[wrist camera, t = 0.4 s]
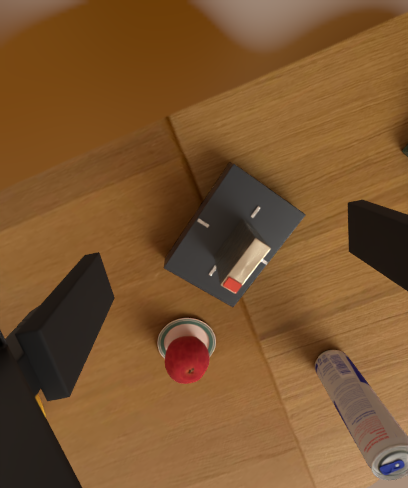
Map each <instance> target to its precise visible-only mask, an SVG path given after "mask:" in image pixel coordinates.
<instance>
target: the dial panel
mask: <svg viewBox="0 0 408 488" xmlns="http://www.w3.org/2000/svg"><path fill="white" fill-rule="evenodd" d="M304 216H305V214H304V213H303V212H301V211H300V210H298V209H297V208H296V207H294V206H293V205H291V204H290V203H289V202H287V201H286V200H284V199H283V198H282V197H280V196H279V195H277V194H276V193H274V192H273V191H272V190H270V189H269V188H267V187H266V186H265V185H263V184H262V183H260V182H259V181H258V180H256V179H255V178H253V177H252V176H251V175H249V174H248V173H246V172H245V171H243V170H242V169H241V168H239V167H238V166H236V165H235V164H233V163H231V162H229V164H228V165H227V167H226V168H225V170H224V171H223V173H222V174H221V176H220V177H219V179H218V180H217V182H216V183H215V185H214V186H213V188H212V189H211V191H210V192H209V194H208V195H207V197H206V198H205V200H204V201H203V203H202V204H201V206H200V207H199V209H198V210H197V212H196V213H195V215H194V216H193V218H192V219H191V221H190V222H189V224H188V225H187V227H186V228H185V230H184V231H183V233H182V234H181V235H180V237H179V238H178V240H177V241H176V243H175V244H174V246H173V247H172V249H171V250H170V252H169V253H168V255H167V256H166V258H165V263H164V268H165V269H166V270H168V271H170V272H172V273H173V274H175V275H177V276H179V277H181V278H182V279H184V280H186V281H188V282H189V283H191V284H193V285H195V286H196V287H198V288H200V289H202V290H203V291H205V292H207V293H209V294H210V295H212V296H214V297H216V298H217V299H219V300H221V301H223V302H224V303H226V304H228V305H230V306H232V307H234V306H235V304H236V303H237V302H238V301H239V299H240V298H241V297H242V296H243V294H244V293H245V292H246V290H247V289H248V288H249V287H250V285H251V284H252V283H253V282H254V280H255V279H256V278H257V276H258V275H259V274H260V273H261V271H262V270H263V269H264V267H265V266H266V265H267V264H268V262H269V261H270V260H271V259H272V257H273V256H274V255H275V253H276V252H277V251H278V250H279V248H280V247H281V246H282V245H283V243H284V242H285V241H286V239H287V238H288V237H289V236H290V234H291V233H292V232H293V230H294V229H295V228H296V227H297V225H298V224H299V223H300V222H301V220H302V219H303V218H304ZM241 219H243V220H245V221H246V222H248V223H249V224H251V225H252V226H254V227H255V228H256V230H257V231H258V232H259V234H260V235H261V236H262V237H263V239H264V240H265V241H266V242H267V244H268V245H269V246H270V248H271V249H270V250H269V252H268V253H267V254H266V256H265V257H264V258H263V259H262V261H261V262H260V263H259V265H258V266H257V267H256V268H255V270H254V271H253V272H252V274H251V275H250V276H249V277H248V279H247V280H246V281H245V283H244V284H243V285H242V287H241V288H240V289H239V290H238V292H237V293H236V294H234V293H233V292H231V291H229V290H228V289H226V288H224V287H222V286H221V285H220V281H219V277H218V273H217V269H216V264H215V260H214V256H215V255H216V253H217V252H218V250H219V249H220V248H221V246H222V245H223V244H224V242H225V241H226V239H227V238H228V237H229V235H230V234H231V232H232V231H233V230H234V228H235V227H236V225H237V224H238V223H239V221H240V220H241Z"/></svg>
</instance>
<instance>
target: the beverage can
mask: <svg viewBox="0 0 408 488" xmlns="http://www.w3.org/2000/svg"><path fill="white" fill-rule="evenodd" d="M315 370H316V373H317V375H318V377H319V378H320V380H321V382H322V384H323V385H324V387H325V389H326V391H327V393H328V394H329V396H330V398H331V400H332V402H333V403H334V405H335V407H336V409H337V411H338V412H339V414H340V416H341V418H342V419H343V421H344V423H345V425H346V427H347V428H348V430H349V432H350V434H351V436H352V437H353V439H354V441H355V443H356V444H357V446H358V448H359V450H360V452H361V453H362V455H363V457H364V459H365V461H366V462H367V464H368V466H369V467H370V468H371V470H372V472H373V474H374V475H375V476H376V477H378V478H380V479H383V480H395V479H399V478H402V477H404V476H407V475H408V436H407V435H406V434H405V432H404V431H403V429H402V428H401V427H400V425H399V424H398V423H397V421H396V420H395V419H394V417H393V416H392V415H391V413H390V412H389V411H388V409H387V408H386V407H385V405H384V404H383V403H382V401H381V400H380V399H379V397H378V396H377V395H376V393H375V392H374V391H373V389H372V388H371V387H370V385H369V384H368V383H367V381H366V380H365V379H364V377H363V376H362V375H361V373H360V372H359V371H358V369H357V368H356V367H355V365H354V364H353V363H352V361H351V360H350V359H349V357H348V356H347V355H346V354H345V353H344V352H342V351H339V350H328V351H325V352H323V353H322V354H321V355H320V356H319V357H318V358H317V360H316V362H315Z"/></svg>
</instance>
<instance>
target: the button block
mask: <svg viewBox="0 0 408 488" xmlns="http://www.w3.org/2000/svg"><path fill="white" fill-rule="evenodd" d="M402 152H403V153H404V154H405V155H406V156H408V144H407V146H406V147H405V148H404V149H403V150H402Z"/></svg>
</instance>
